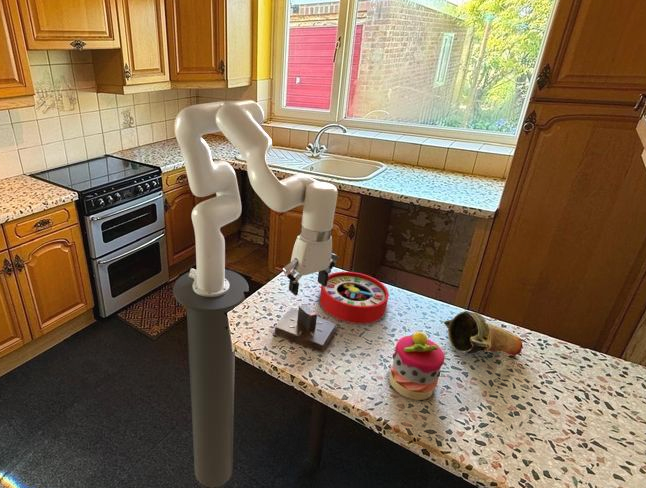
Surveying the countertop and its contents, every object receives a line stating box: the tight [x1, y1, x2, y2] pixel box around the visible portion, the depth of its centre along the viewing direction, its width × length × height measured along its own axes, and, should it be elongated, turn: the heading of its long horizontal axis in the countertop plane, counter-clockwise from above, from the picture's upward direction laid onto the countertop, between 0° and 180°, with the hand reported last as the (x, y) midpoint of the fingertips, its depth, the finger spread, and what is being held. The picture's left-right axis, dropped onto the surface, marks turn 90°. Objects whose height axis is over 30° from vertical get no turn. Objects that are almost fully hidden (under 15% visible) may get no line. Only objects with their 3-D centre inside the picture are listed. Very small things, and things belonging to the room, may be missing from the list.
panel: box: [274, 307, 338, 353], centre depth 113 cm, size 14×11×3 cm
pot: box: [443, 310, 524, 357], centre depth 106 cm, size 17×11×18 cm
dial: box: [297, 304, 318, 331], centre depth 112 cm, size 5×2×5 cm, turn 27°
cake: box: [388, 331, 446, 401], centre depth 93 cm, size 10×11×15 cm
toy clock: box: [319, 271, 390, 325], centre depth 125 cm, size 20×6×20 cm
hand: (307, 288), depth 108 cm, fingers open, 9 cm apart
